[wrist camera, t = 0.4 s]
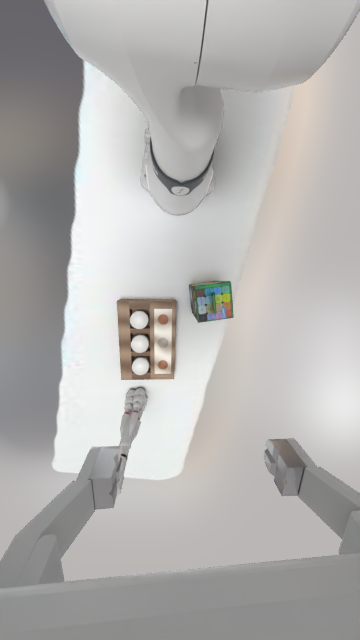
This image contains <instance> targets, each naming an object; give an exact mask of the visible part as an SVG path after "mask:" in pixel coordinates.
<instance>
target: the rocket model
mask: <svg viewBox="0 0 360 640" xmlns="http://www.w3.org/2000/svg"><path fill="white" fill-rule="evenodd" d="M146 403H147V398H146V397H145V391H144V390H143V389H142V388H138V389H137V390H136V391H135V390H129V391H128V392H127V394H126V400H125V407H124V409H125V412H124V415H123V416H122V422H121V427H120V430H121V441H120V445H119V446H121V447H122V453H121V458H122V462H123V463H122V473H121V478H120V481H119V483H118V484H117V495H116V498H117V497H118V496H119V494H120V493H121V489H122V484H123V479H124V470H125V466H126V461H127V457H128V452H129V449H130V448H131V443H132V441H133V440H134V438H135V437H136V435H137V433H138V429H139V426H140V423H141V422H140V417H141V416H142V413H143V411H144V409H145V405H146Z"/></svg>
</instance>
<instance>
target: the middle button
mask: <svg viewBox="0 0 360 640" xmlns="http://www.w3.org/2000/svg"><path fill="white" fill-rule="evenodd" d="M148 345H149V338H148V336H147V335H145V334H142V333H140V334H137V335H135V336H134V338H133V340H132V342H131V348H132V349H133V350H134V351H135V352H137V353H142V352H145V351H146V350H147V348H148Z"/></svg>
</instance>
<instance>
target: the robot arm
mask: <svg viewBox="0 0 360 640" xmlns="http://www.w3.org/2000/svg"><path fill="white" fill-rule="evenodd" d="M44 1H45V3H46V6H47V8H48V10H49V12H50V14H51V15H52V17H53V19H54V20H55V22H56V24H57V26H58V28H59V29H60V31H61V32H62V34H63V36H64V37H65V38H66V40H67V41H68V43H69V44H70V46H71V47H72V48H73V50H74V51H75V52H76V54H77V55H78V56H79V57H80V58H82V59H83V60H85V61H87V62H88V63H90V64H91V65H93V66H94V67H96V68H97V69H98V70H100V71H101V72H103V73H104V74H105V75H106V76H108V77H109V78H110V79H111V80H113V81H114V82H115V83H116V84H117V85H118V86H119V87H120V88H121V89H122V90H123V91H124V92H125V93H126V94H127V95H128V96H129V97H130V98H131V100H132V101H133V102H134V103H135V104H136V106H137V107H138V108H139V109H140V111H141V112H142V114H143V115H144V117H145V118H146V120H147V122H148V126H149V128H148V129H146V130H145V143H146V147H145V154H144V160H143V167H142V173H141V185H142V186H143V187H144V188H145V189H146V190H147V191H148V192H150V194H151V195H152V197H153V198H154V200H155V202H156V203H157V204H158V206H159V207H160V208H162V209H163V210H164V211H166V212H168V213H170V214H174V215H183V214H187V213H189V212H191V211H193V210H194V209H195V208H196V207H197V206H198V205H199V204H200V202H201V201H202V199H203V198H204V197H205V196H206V195H207V194H209V193H210V192H211V191H212V190H213V189H214V176H213V173H214V170H213V166H212V160H213V154H214V148H215V145H216V142H217V140H218V137H219V134H220V131H221V128H222V123H223V114H224V109H223V99H222V94H221V90H220V88H223V89H231V90H240V91H248V92H261V91H268V90H274V89H279V88H284V87H288V86H292V85H297V84H301V83H303V82H305V81H306V80H308V79H309V78H310V77H311V76H312V75H313V74H314V73H315V72H316V71H317V70H318V69H319V68H320V67H321V66H322V65H323V64H324V62H325V61H326V60H327V59H328V58H329V57H330V55H331V54H332V53H333V51H334V50H335V49H336V47H337V46H338V44H339V43H340V42H341V40H342V39H343V37H344V36H345V34H346V33H347V31H348V30H349V28H350V27H351V25H352V23H353V21H354V20H355V18H356V16H357V14H358V13H359V11H360V0H44ZM145 175H146V176H147V178H146V177H145ZM266 446H267V449H266V450H265V452H264V460H265V464H266V467H267V469H268V471H269V472H270V473H271V474H272V475H273V476H274V482H275V484H276V486H277V488H278V490H279V491H280V493H281V495H282V496H298V497H299V498H300V499H301V500H302V501H303V502H304V503H305V504H306V505H307V506H308V507H309V508H310V509H312V511H314V512H315V513H316V514H317V515H318V516H319V517H320V518H321V519H322V520H323V521H324V522H325V523H326V524H327V525H328V526H329V527H330V528H331V529H332V530H333V531H334V532H335V533H336V534H337V535H338V536H340V538H341V539H342V542H341V545H340V548H339V554H340V555H333V556H322V557H312V558H302V559H292V560H282V561H270V562H260V563H250V564H239V565H229V566H219V567H209V568H198V569H190V570H189V569H188V570H179V571H168V572H158V573H148V574H138V575H127V576H117V577H108V578H97V579H87V580H76V581H66V582H64V575H63V570H62V565H61V558H62V556H63V555H64V553H65V552H66V551H67V549H68V548H69V546H70V545H71V544H72V542H73V541H74V540H75V538H76V537H77V535H78V534H79V533H80V531H81V530H82V528H83V527H84V526H85V524H86V523H87V521H88V520H89V519H90V517H91V516H92V514H93V513H94V512H95V510H96V509H106V508H113V507H114V504H115V500H116V495H117V484H118V483H119V481H120V478H121V473H122V463H123V462H122V458H121V453H122V447H121V446H111V447H92V448H91V449H90V451H89V453H88V455H87V457H86V460H85V462H84V464H83V466H82V469H81V471H80V473H79V476H78V478H77V480H76V481H72V482H71V483H70V484H69V485H68V486H67V487H66V488H65V489H64V490H63V491H62V492H61V493H60V494H59V495H58V496H57V497H56V498H54V500H52V501H51V502H50V503H49V504H48V505H47V506H46V507H45V508H44V509H43V510H42V511H41V512H40V513H39V514H38V515H37V516H36V517H35V518H34V519H33V520H31V521H30V522H29V523H28V524H27V525H26V526H25V527H24V528H23V529H22V530H21V531H20V532H19V533H18V534H17V535H16V536H15V537H14V539H13V541H12V542H11V544H10V546H9V547H8V549H7V551H6V552H5V554H4V556H3V558H2V559H1V561H0V640H360V493H359V492H357V491H355V490H354V489H353V488H351V487H350V486H348V485H347V484H345V483H344V482H342V481H341V480H339V479H338V478H336V477H335V476H333V475H332V474H330V473H329V472H327V471H326V470H324V469H323V468H321V467H317V466H316V465H315V463H314V462H313V461H312V460H311V458H310V457H309V456H308V455H307V453H306V452H305V451H304V450H303V449H302V447H301V446H300V445H299V443H298V442H297V441H296V440H295V439H294V438H289V439H269V440H267V441H266Z"/></svg>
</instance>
